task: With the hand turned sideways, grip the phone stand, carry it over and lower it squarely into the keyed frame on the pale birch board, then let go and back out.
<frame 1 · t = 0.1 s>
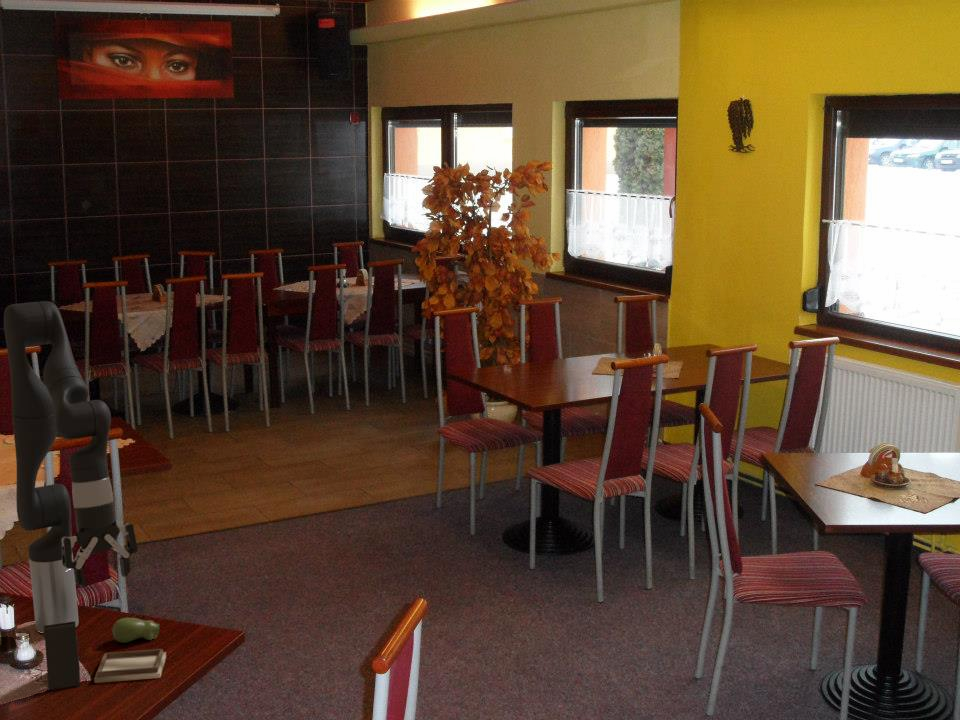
hand: (103, 581, 225), 22 cm above the table, tool pointing down, fingers open, 8 cm apart
pear: (137, 640, 251), on the table
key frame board: (131, 669, 236), on the table
phone stand: (64, 680, 232), on the table
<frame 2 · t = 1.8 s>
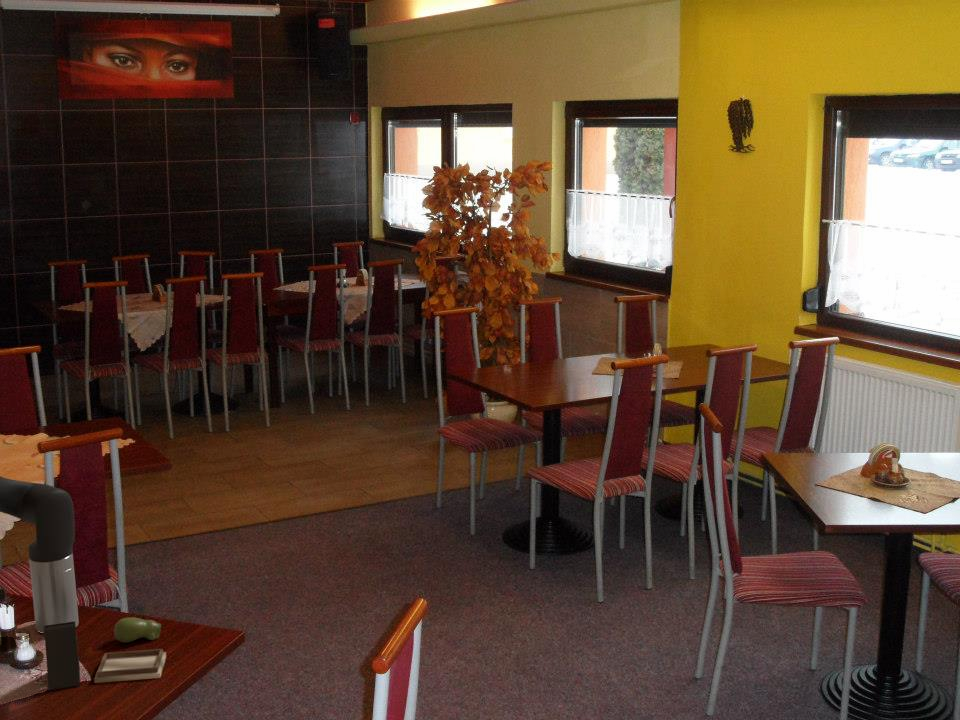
hand: (0, 601, 227), 18 cm above the table, tool horizontal, fingers open, 8 cm apart
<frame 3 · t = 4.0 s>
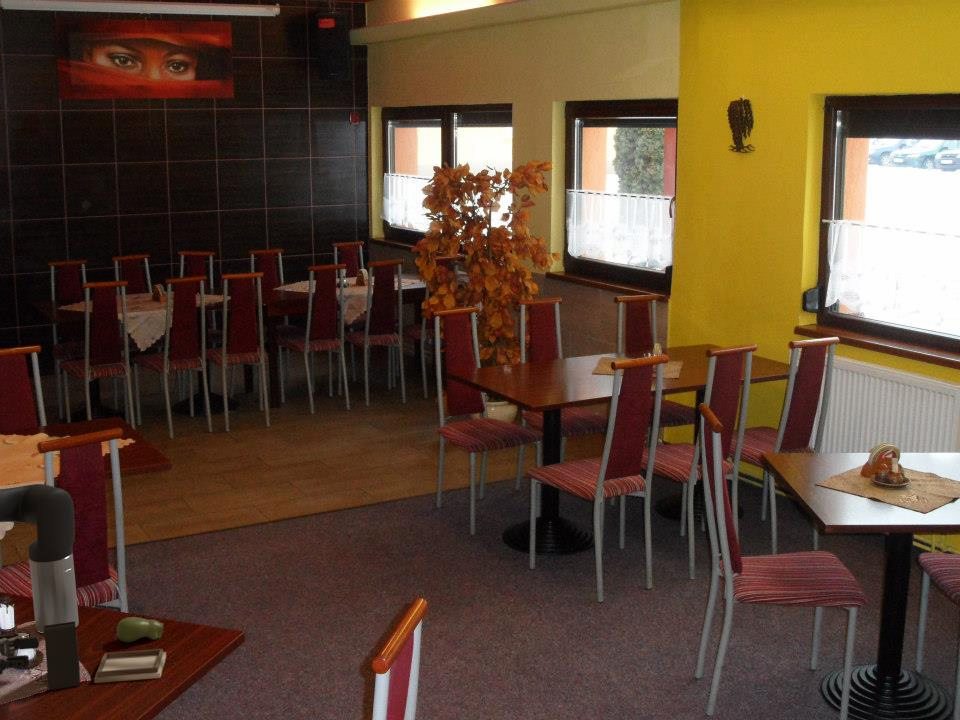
hand: (33, 651, 230), 7 cm above the table, tool horizontal, fingers open, 8 cm apart
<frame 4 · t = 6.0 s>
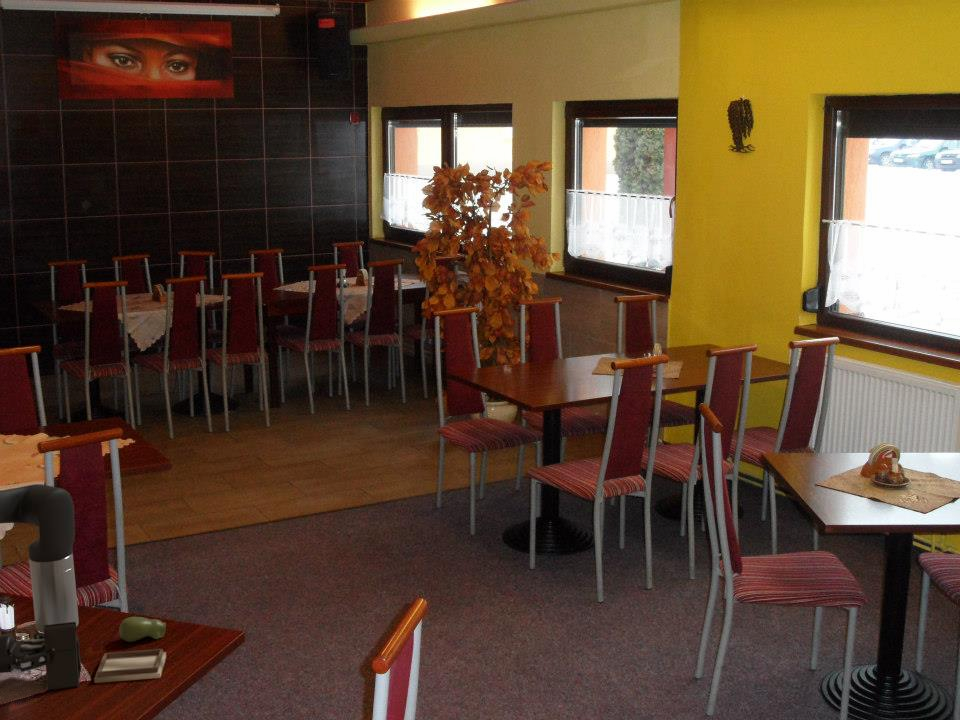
hand: (77, 647, 232), 7 cm above the table, tool horizontal, fingers closed on phone stand, 2 cm apart
phone stand: (64, 680, 232), on the table, touching gripper
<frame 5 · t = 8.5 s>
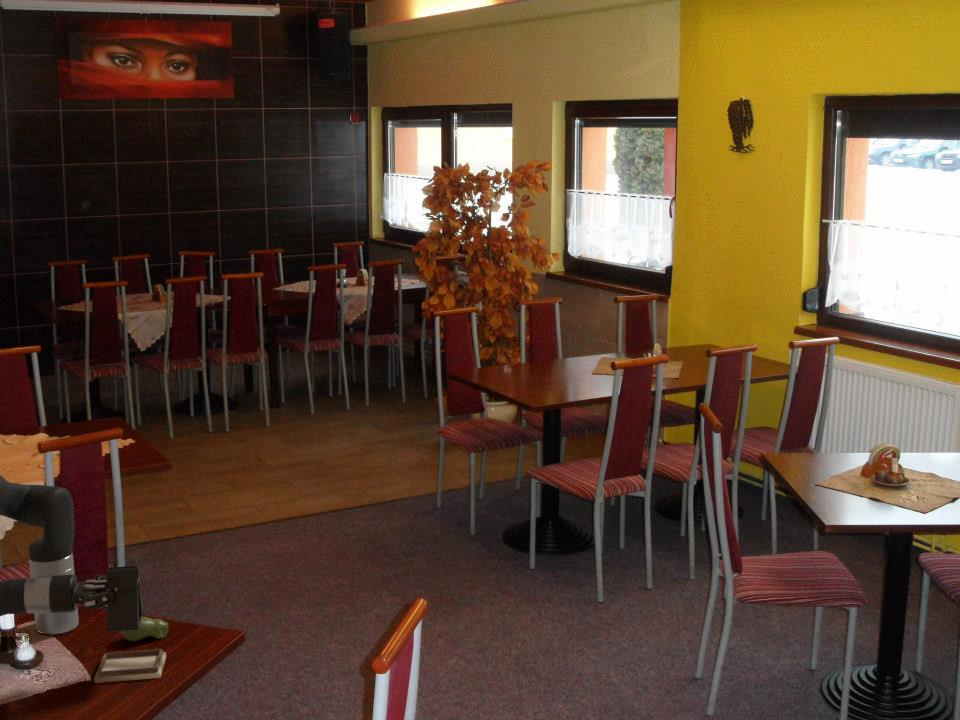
hand: (138, 589, 233), 18 cm above the table, tool horizontal, fingers closed on phone stand
phone stand: (125, 623, 234), point 10 cm above the table, touching gripper
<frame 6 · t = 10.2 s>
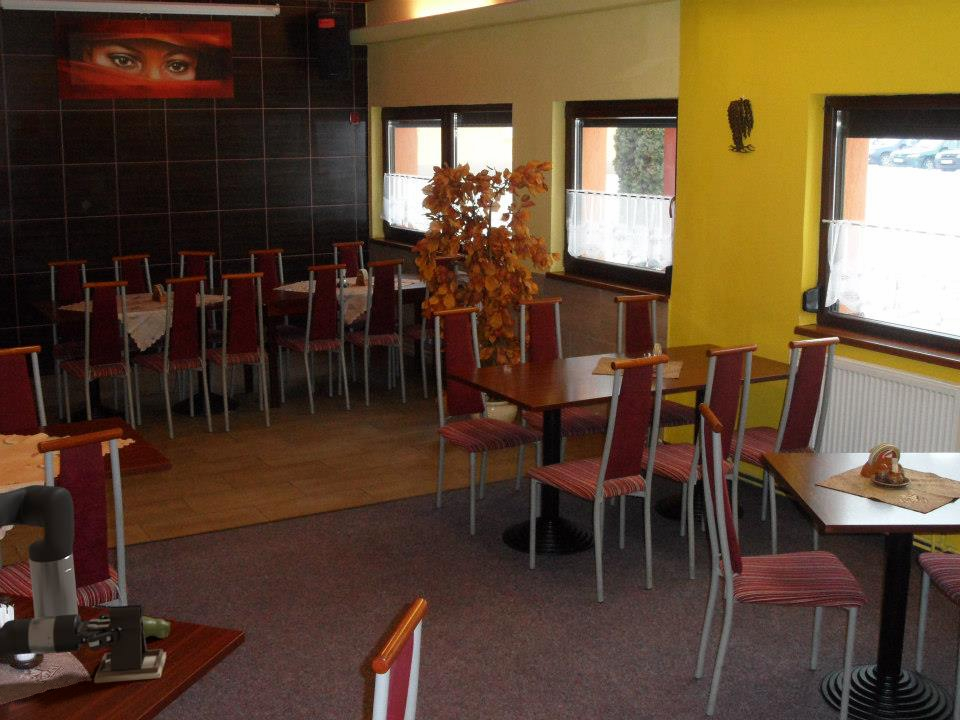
hand: (142, 628, 235), 9 cm above the table, tool horizontal, fingers closed on phone stand
phone stand: (129, 661, 235), point 2 cm above the table, touching gripper, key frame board
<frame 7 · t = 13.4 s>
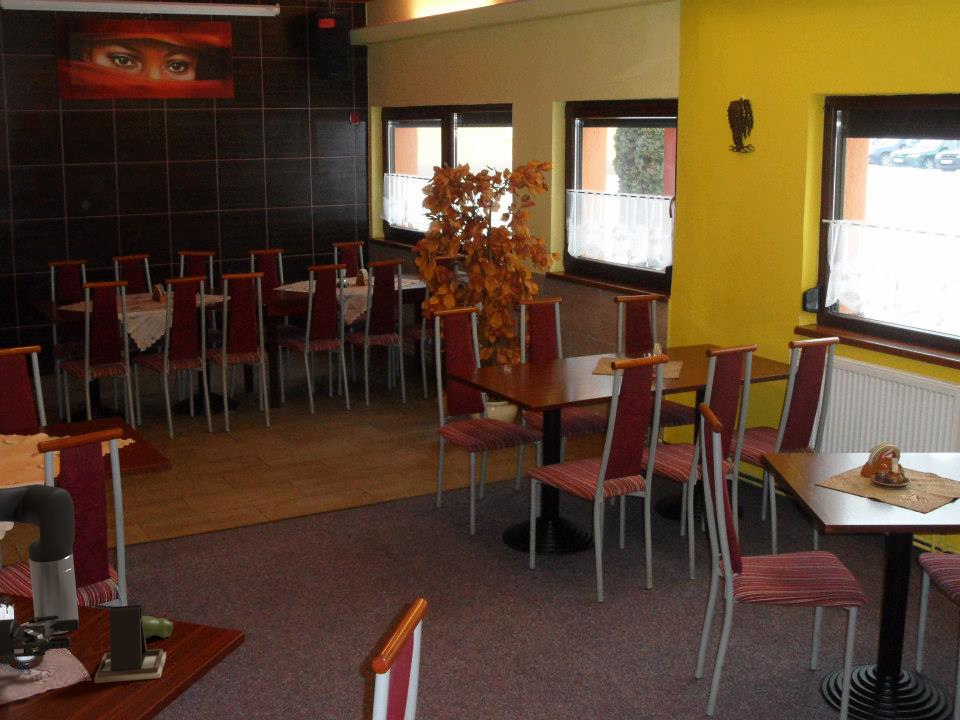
hand: (74, 633, 233), 9 cm above the table, tool horizontal, fingers open, 8 cm apart
phone stand: (129, 661, 236), point 2 cm above the table, touching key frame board
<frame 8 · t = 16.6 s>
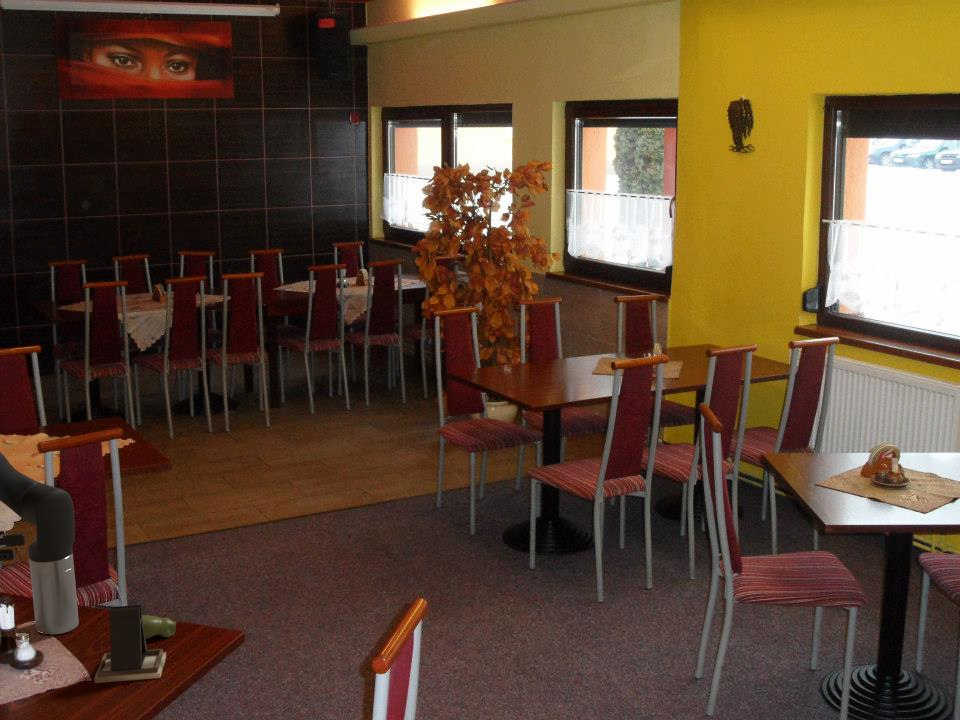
hand: (19, 546, 229), 28 cm above the table, tool horizontal, fingers open, 8 cm apart
at the end: phone stand 0.3 cm off-centre on the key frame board, point 1.8 cm above the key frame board's base; phone stand tilted 0°; the gripper is holding nothing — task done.
